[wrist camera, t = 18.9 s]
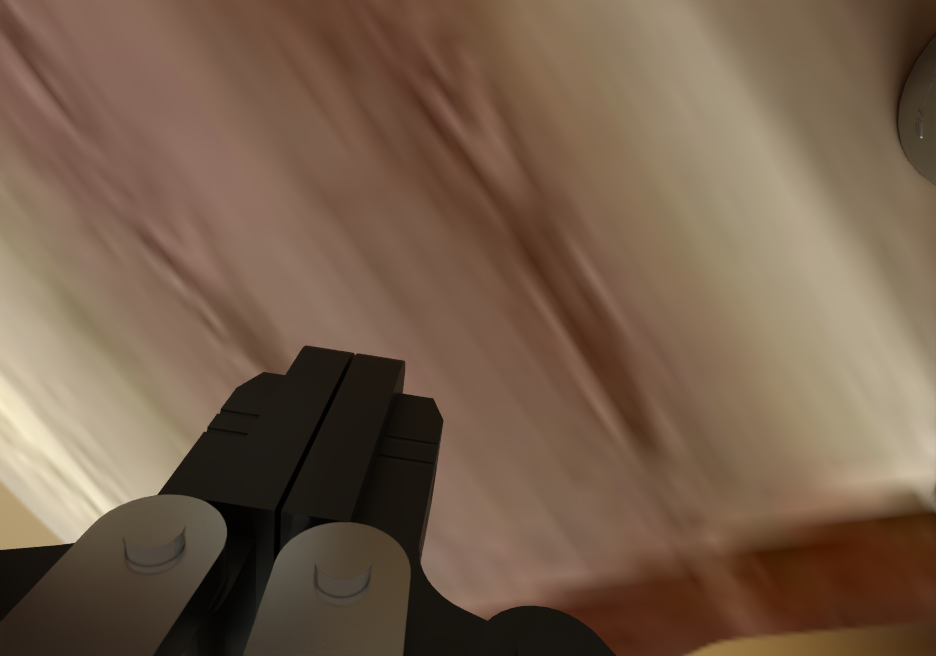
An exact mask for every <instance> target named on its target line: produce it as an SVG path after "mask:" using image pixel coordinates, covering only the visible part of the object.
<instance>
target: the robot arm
mask: <svg viewBox="0 0 936 656" xmlns="http://www.w3.org/2000/svg"><path fill="white" fill-rule="evenodd" d="M898 128H899V134H900V140H901V145H902V147H903V149H904V152H905V154H906V156H907V158H908V161H909V162H910V163H911V164H912V165H913V167H914V168H915V169H916V170H917V171H918V173H919V174H920V175H922V176H923V177H925V178H926V179H927V180H929V181H930V182H932V183H933V184H935V185H936V36H935V37H934V38H933V39H932V40H931V41H930V43H929V44H928V45H927V47H926V48H925V50H924V51H923V52H922V54H921V55H920V56H919V58H918V59H917V61H916V62H915V64H914V66H913V68H912V71H911V73H910V75H909V77H908V79H907V81H906V83H905V86H904V90H903V93H902V97H901V100H900V104H899V118H898ZM404 376H405V361H403V360H396V359H390V358H384V357H377V356H371V355H365V354H358V353H357V354H356V355H355V354H354V353H351V352H345V351H338V350H332V349H326V348H319V347H313V346H304V347H303V348H302V350H301V351H300V353H299V354H298V356H297V358H296V359H295V361H294V362H293V364H292V365H291V367H290V369H289V370H288V372H287V373H286V375H280V374H274V373H267V372H263V373H261V374H259V375H258V376H256V377H254V378H253V379H251V380H249V381H247V382H246V383H244V384H242V385H241V386H239V387H237V388H236V389H235V391H234V392H233V393H232V395H231V396H230V397H229V399H228V400H227V401H226V403H225V404H224V405H223V407H222V408H221V411H220V414H217V415H216V416H215V418H214V419H213V420H212V422H211V423H210V424H209V426H208V428H207V432H203V434H202V435H201V437H200V438H199V439H198V441H197V442H196V443H195V445H194V446H193V447H192V449H191V450H190V451H189V453H188V454H187V455H186V457H185V458H184V460H183V461H182V462H181V464H180V465H179V466H178V468H177V469H176V470H175V472H174V473H173V474H172V476H171V477H170V478H169V480H168V481H167V483H166V484H165V485H164V487H163V488H162V489H161V491H160V492H159V493H158V495H155V496H150V497H144V498H140V499H137V500H133V501H130V502H128V503H125V504H123V505H120V506H119V507H117V508H115V509H113V510H111V511H109V512H108V513H106V514H105V515H103V516H102V517H101V518H99V519H98V520H97V521H96V522H95V523H94V524H93V525H92V526H91V527H90V528H89V529H88V530H87V531H86V532H85V533H84V534H83V535H82V536H81V537H80V538H79V539H78V540H77V542H76V543H71V544H63V545H55V546H42V547H30V548H19V549H7V550H0V656H616V655H615V654H614V653H613V651H612V650H611V649H610V648H609V647H608V646H607V645H606V644H605V643H604V642H603V640H602V639H601V638H600V637H599V636H598V635H597V634H596V633H595V632H594V631H593V630H592V629H590V628H589V627H588V626H586V625H585V624H584V623H582V622H581V621H579V620H578V619H576V618H574V617H572V616H570V615H568V614H566V613H563V612H561V611H558V610H555V609H551V608H547V607H540V606H520V607H515V608H511V609H508V610H505V611H502V612H500V613H498V614H497V615H495V616H493V617H492V618H491V619H490V620H488V621H487V620H485V619H483V618H480V617H478V616H476V615H474V614H472V613H470V612H468V611H466V610H463V609H462V608H460V607H458V606H456V605H454V604H453V603H451V602H450V601H448V600H447V599H446V598H444V597H443V596H442V595H441V594H440V593H439V592H438V591H437V590H436V589H435V588H434V587H433V586H432V585H431V583H430V582H429V581H428V579H427V577H426V576H425V574H424V572H423V570H422V566H421V563H420V562H421V556H422V550H423V546H424V540H425V535H426V529H427V524H428V519H429V513H430V508H431V503H432V496H433V489H434V482H435V475H436V469H437V462H438V455H439V448H440V441H441V434H442V427H443V418H442V416H441V414H440V412H439V410H438V408H437V405H436V403H435V401H434V399H433V398H427V397H420V396H414V395H408V394H403V386H404Z"/></svg>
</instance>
